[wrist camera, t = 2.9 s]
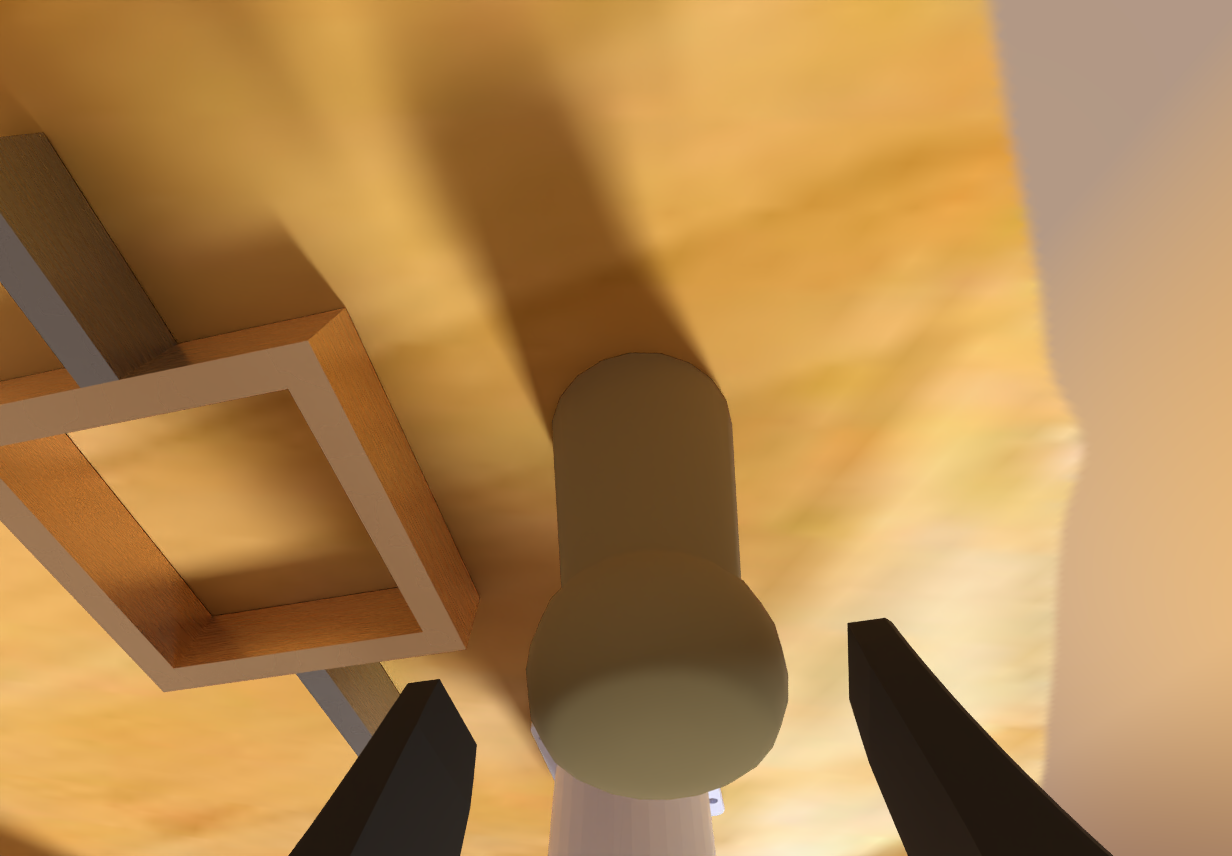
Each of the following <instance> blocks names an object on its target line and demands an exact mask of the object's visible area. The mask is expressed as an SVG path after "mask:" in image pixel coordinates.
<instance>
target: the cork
mask: <svg viewBox="0 0 1232 856" xmlns="http://www.w3.org/2000/svg"><path fill="white" fill-rule="evenodd" d="M552 429H553V452H554V469H555V486H556V504H557V521H558V538H559V555H560V573H561V589H560V590H559V591H558V592H557V593H556V594H555V595H554V596H553V597H552V598H551V600H550V602H549V604H548V606H547V608H546V610H545V612H544V614H543V616H542V618H541V620H540V623H539V625H538V628H537V630H536V633H535V635H534V637H533V640H532V642H531V645H530V650H529V656H528V662H527V667H526V675H527V687H528V698H529V706H530V715H531V721H532V723H533V725H534V727H535V729H536V731H537V733H538V735H539V737H540V739H541V741H542V743H543V744H544V746H545V747H546V749H547V751H548V752H549V754H550V756H551V757H552V759H553V760H554V762H555V763H556V764H557V765H559V766H560V767H561V768H562V769H564V770H565V771H566V772H568V773H569V774H570V775H572V776H573V777H574V778H575V779H577V780H579V781H582V782H584V783H586V784H588V785H591V786H593V787H596V788H598V789H600V790H603V791H605V792H608V793H610V794H614V795H619V796H624V797H629V798H634V799H639V800H672V799H679V798H686V797H692V796H698V795H701V794H704V793H707V792H710V791H712V790H715V789H718V788H721V787H724V786H726V785H728V784H729V783H731V782H733V781H735V780H736V779H738V778H739V777H741V776H743V775H744V774H746V773H747V772H749V771H750V770H752V769H754V768H755V767H757V765H758V764H759V763H760V762H761V761H762V760H763V758H764V757H765V756H766V755H767V754H768V752H769V751H770V750H771V749H772V748H773V745H774V743H775V740H776V738H777V735H778V733H779V730H780V727H781V725H782V721H783V717H784V714H785V710H786V706H787V703H788V672H787V668H786V664H785V659H784V655H783V651H782V647H781V644H780V640H779V637H778V634H777V630H776V627H775V624H774V622H773V621H772V619H771V617H770V616H769V614H768V613H767V611H766V610H765V608H764V606H763V605H762V603H761V602H760V601H759V600H758V598H757V597H756V596H755V595H754V593H753V592H752V591H751V590H750V588H749V587H748V586H747V585H746V583H745V582H744V581H743V580H741V571H740V553H739V536H738V519H737V502H736V484H735V467H734V450H733V433H732V423H731V418H730V414H729V410H728V405H727V401H726V400H725V398H724V397H723V395H722V394H721V392H720V391H719V389H718V388H717V386H716V385H715V383H714V382H713V380H712V379H711V378H709V377H708V376H706V375H705V374H704V373H702V372H701V371H700V370H698V369H697V368H696V367H694V366H693V365H691V364H690V363H688V362H685V361H682V360H679V359H676V358H673V357H670V356H667V355H664V354H657V353H628V354H625V355H621V356H617V357H614V358H610V359H606V360H603V361H600V362H599V363H597V364H596V365H594V366H593V367H591V368H590V369H588V370H586V371H585V372H583V373H582V374H580V375H579V376H577V377H576V378H575V380H574V381H573V382H572V383H571V385H570V386H569V387H568V388H567V390H566V391H565V392H564V393H563V395H562V396H561V397H560V400H559V403H558V405H557V408H556V411H555V414H554V417H553V420H552Z"/></svg>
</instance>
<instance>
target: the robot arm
mask: <svg viewBox="0 0 1232 856" xmlns="http://www.w3.org/2000/svg"><path fill="white" fill-rule="evenodd" d="M848 665H849V700H850V703H851V706H852V709H853V713H854V716H855V719H856V722H857V726H858V729H859V732H860V735H861V739H862V742H863V745H864V748H865V751H866V754H867V757H868V761H869V764H870V766H871V768H872V771H873V773H874V776H875V778H876V781H877V783H878V785H879V788H880V790H881V793H882V795H883V797H884V800H885V802H886V805H887V807H888V809H889V812H890V814H891V817H892V819H893V821H894V824H895V826H896V828H897V831H898V833H899V835H900V838H901V840H902V843H903V845H904V847H905V850H906V852H907V854H908V856H1113V855H1112V854H1111V853H1110V852H1109V851H1107V850H1106V849H1105V848H1104V847H1103V846H1102V845H1101V844H1100V843H1098V841H1096V840H1095V839H1094V838H1093V837H1092V836H1091V835H1090V834H1089V833H1088V832H1086V830H1084V829H1083V828H1082V827H1081V826H1080V825H1079V824H1078V823H1077V822H1076V821H1075V820H1074V819H1073V818H1072V817H1071V816H1070V815H1069V814H1068V813H1066V812H1065V811H1064V810H1063V809H1062V808H1061V807H1060V806H1059V805H1058V804H1057V803H1056V802H1055V801H1054V800H1053V799H1052V798H1051V797H1050V796H1049V795H1048V794H1047V793H1046V792H1045V791H1044V790H1043V789H1042V788H1041V787H1040V786H1039V785H1038V784H1037V783H1036V782H1035V781H1034V780H1033V779H1032V778H1030V777H1029V776H1028V775H1027V774H1026V773H1025V772H1024V771H1023V770H1022V768H1021V767H1020V766H1019V765H1018V764H1017V763H1016V762H1015V761H1014V760H1013V759H1012V758H1011V757H1010V756H1009V755H1008V754H1007V753H1006V752H1005V751H1004V750H1003V749H1002V748H1001V747H1000V746H999V745H998V744H997V743H996V742H995V741H994V740H993V738H992V737H991V736H990V735H989V734H988V733H987V732H986V731H985V730H984V729H983V728H982V727H981V726H980V725H979V724H978V723H977V722H976V720H975V719H974V718H973V717H972V716H971V715H970V714H969V713H968V712H967V711H966V710H965V709H964V708H963V706H962V705H961V704H960V703H959V702H958V701H957V700H956V699H955V698H954V696H953V695H952V694H951V693H950V692H949V691H948V690H947V688H946V687H945V686H944V685H943V684H942V683H941V682H940V680H939V679H938V678H937V677H936V676H935V675H934V674H933V672H932V671H931V670H930V669H929V668H928V667H927V665H926V664H925V663H924V662H923V661H922V659H921V658H920V657H919V656H918V655H917V653H916V652H915V651H914V650H913V648H912V647H911V646H910V645H909V643H908V642H907V641H906V640H905V638H904V637H903V636H902V635H901V633H900V632H899V631H898V629H897V628H896V627H895V626H894V624H893V623H892V622H891V621H889V620H888V619H886V618H881V619H874V620H866V621H859V622H852V623H848ZM531 733H532V735H533V737H534V739H535V741H536V743H537V745H538V747H539V750H540V752H541V754H542V756H543V758H544V760H545V762H546V764H547V766H548V768H549V770H550V773H551V775H552V777H553V779H554V781H555V783H554V794H553V805H552V816H551V827H550V838H549V848H548V856H716V851H715V843H714V835H713V827H712V819H711V816H716V815H720V814H722V813H723V812H724V810H725V808H724V802H723V798H722V793H721V789H720V788H718V789H715V790H712V791H710V792H707V793H704V794H701V795H698V796H692V797H686V798H679V799H672V800H639V799H634V798H629V797H624V796H619V795H614V794H610V793H608V792H605V791H603V790H600V789H598V788H596V787H593V786H591V785H588V784H586V783H584V782H582V781H579V780H577V779H575V778H574V777H573V776H572V775H570V774H569V773H568V772H566V771H565V770H564V769H562V768H561V767H560V766H559V765H557V764H556V763H555V762H554V760H553V759H552V757H551V756H550V754H549V752H548V751H547V749H546V747H545V746H544V744H543V743H542V741H541V739H540V737H539V735H538V733H537V731H536V729H535V727H534V725H533V723H531ZM476 747H477V744H476V743H475V741H474V739H473V737H472V735H471V734H470V732H469V730H468V728H467V727H466V725H465V723H464V721H463V720H462V718H461V716H460V714H459V713H458V711H457V709H456V707H455V705H454V704H453V702H452V700H451V698H450V697H449V695H448V693H447V691H446V690H445V688H444V686H443V684H442V682H441V681H440V679H436V680H429V681H421V682H414V683H408V684H407V685H406V687H405V688H404V690H403V691H402V693H401V694H400V696H399V697H398V698H397V700H396V701H395V703H394V704H393V706H392V707H391V709H390V710H389V712H388V713H387V715H386V716H385V718H384V719H383V721H382V722H381V724H380V725H379V727H378V728H377V730H376V731H375V733H374V734H373V736H372V737H371V739H370V740H369V742H368V743H367V745H366V746H365V748H364V749H363V751H362V752H361V754H360V755H359V757H358V758H357V760H356V761H355V763H354V764H353V766H352V767H351V769H350V770H349V771H348V773H347V774H346V776H345V777H344V779H343V780H342V782H341V783H340V784H339V786H338V787H337V789H336V790H335V792H334V793H333V795H332V796H331V797H330V799H329V800H328V802H327V803H326V805H325V806H324V807H323V809H322V810H321V812H320V813H319V815H318V816H317V817H316V819H315V820H314V822H313V823H312V824H311V826H310V827H309V829H308V830H307V831H306V833H305V834H304V835H303V837H302V838H301V839H300V841H299V842H298V843H297V845H296V846H295V848H294V849H293V850H292V852H291V853H290V854H289V856H460V853H461V849H462V844H463V839H464V835H465V830H466V825H467V820H468V815H469V811H470V804H471V796H472V788H473V779H474V769H475V758H476Z"/></svg>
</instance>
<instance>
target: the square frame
mask: <svg viewBox="0 0 1232 856" xmlns="http://www.w3.org/2000/svg"><path fill="white" fill-rule="evenodd" d="M0 282H1V283H2V285H3V286H4V287H5V289H6V290H7V291H8V293H9V294H10V295H11V297H12V298H13V299H14V301H15V302H16V303H17V305H18V306H19V307H20V308H21V310H22V311H23V312H24V314H25V315H26V316H27V318H28V319H29V320H30V322H31V323H32V324H33V326H34V327H35V328H36V330H37V331H38V332H39V334H40V335H41V336H42V338H43V339H44V340H45V342H46V343H47V344H48V346H49V347H50V348H51V350H52V351H53V352H54V354H55V355H56V356H57V358H58V359H59V360H60V362H61V363H62V364H63V366H64V367H65V368H62V369H58V370H53V371H48V372H44V373H39V374H34V375H30V376H25V377H20V378H16V379H11V380H6V381H1V382H0V521H1V522H2V523H3V524H4V525H5V526H6V527H7V528H8V529H9V530H10V531H11V532H12V533H13V534H14V535H15V536H16V537H17V539H18V540H19V541H20V542H21V543H22V544H23V545H24V546H25V547H26V548H27V549H28V550H29V551H30V552H31V553H32V554H33V555H34V556H35V557H36V558H37V560H38V561H39V562H40V563H41V564H42V565H43V566H44V567H45V568H46V569H47V570H48V571H49V572H50V573H51V574H52V575H53V576H54V577H55V578H56V579H57V581H58V582H59V583H60V584H61V585H62V586H63V587H64V588H65V589H66V590H67V591H68V592H69V593H70V594H71V595H72V596H73V597H74V598H75V599H76V600H77V602H78V603H79V604H80V605H81V606H82V607H83V608H84V609H85V610H86V611H87V612H88V613H89V614H90V615H91V616H92V617H93V618H94V619H95V620H96V621H97V623H98V624H99V625H100V626H101V627H102V628H103V629H104V630H105V631H106V632H107V633H108V634H109V635H110V636H111V637H112V638H113V639H114V640H115V641H116V642H117V644H118V645H119V646H120V647H121V648H122V649H123V650H124V651H125V652H126V653H127V654H128V655H129V656H130V657H131V658H132V659H133V660H134V661H135V662H136V664H137V665H138V666H139V667H140V668H141V669H142V670H143V671H144V672H145V673H146V674H147V675H148V676H149V677H150V678H151V679H152V680H153V681H154V682H155V683H156V685H157V686H158V687H159V688H160V689H161V690H162V691H163V692H169V691H176V690H183V689H190V688H197V687H204V686H211V685H218V684H225V683H232V682H239V681H247V680H254V679H261V678H268V677H275V676H282V675H289V674H296V675H297V676H298V677H299V679H300V680H301V681H302V683H303V684H304V685H305V687H306V688H307V689H308V691H309V692H310V693H311V694H312V696H313V697H314V698H315V700H316V701H317V702H318V704H319V705H320V706H321V708H322V709H323V710H324V712H325V713H326V714H327V716H328V717H329V718H330V720H331V721H332V722H333V724H334V725H335V726H336V728H337V729H338V730H339V732H340V733H341V734H342V736H343V737H344V738H345V740H346V741H347V742H348V744H349V745H350V746H351V748H352V749H353V750H354V752H355V753H356V754H357V755H358V757H359V755H360V754H361V752H362V751H363V749H364V748H365V746H366V745H367V743H368V742H369V740H370V739H371V737H372V736H373V734H374V733H375V731H376V730H377V728H378V727H379V725H380V724H381V722H382V721H383V719H384V718H385V716H386V715H387V713H388V712H389V710H390V709H391V707H392V706H393V704H394V703H395V701H396V700H397V698H398V697H399V696H400V694H399V693H398V691H397V690H396V688H395V687H394V685H393V683H392V682H391V680H390V679H389V677H388V676H387V674H386V672H385V671H384V669H383V668H382V666H381V664H380V663H379V662H381V661H388V660H395V659H402V658H409V657H416V656H424V655H431V654H438V653H445V652H452V651H459V650H466V648H467V644H468V640H469V637H470V633H471V629H472V625H473V622H474V618H475V614H476V610H477V607H478V603H479V599H480V597H479V595H478V593H477V591H476V588H475V586H474V584H473V582H472V580H471V578H470V575H469V573H468V571H467V569H466V567H465V565H464V563H463V560H462V558H461V556H460V554H459V552H458V550H457V547H456V545H455V543H454V541H453V539H452V537H451V534H450V532H449V530H448V528H447V526H446V524H445V522H444V519H443V517H442V515H441V513H440V511H439V509H438V506H437V504H436V502H435V500H434V498H433V496H432V493H431V491H430V489H429V487H428V485H427V483H426V481H425V478H424V476H423V474H422V472H421V470H420V468H419V465H418V463H417V461H416V459H415V457H414V455H413V452H412V450H411V448H410V446H409V444H408V442H407V440H406V437H405V435H404V433H403V431H402V429H401V427H400V424H399V422H398V420H397V418H396V416H395V414H394V411H393V409H392V407H391V405H390V403H389V401H388V399H387V396H386V394H385V392H384V390H383V388H382V386H381V383H380V381H379V379H378V377H377V375H376V373H375V370H374V368H373V366H372V364H371V362H370V360H369V357H368V355H367V353H366V351H365V349H364V347H363V345H362V342H361V340H360V338H359V336H358V334H357V332H356V329H355V327H354V325H353V323H352V321H351V319H350V316H349V314H348V312H347V310H346V308H343V309H338V310H333V311H329V312H324V313H319V314H315V315H310V316H305V317H301V318H296V319H291V320H287V321H282V322H277V323H273V324H268V325H263V326H259V327H254V328H249V329H245V330H240V331H235V332H231V333H226V334H221V335H217V336H212V337H207V338H202V339H198V340H193V341H188V342H184V343H179V344H177V343H176V341H175V340H174V338H173V336H172V335H171V333H170V332H169V330H168V328H167V327H166V325H165V324H164V322H163V321H162V319H161V317H160V316H159V314H158V313H157V311H156V310H155V308H154V306H153V305H152V303H151V302H150V300H149V298H148V297H147V295H146V294H145V292H144V291H143V289H142V287H141V286H140V284H139V283H138V281H137V280H136V278H135V276H134V275H133V273H132V272H131V270H130V269H129V267H128V265H127V264H126V262H125V261H124V259H123V257H122V256H121V254H120V253H119V251H118V250H117V248H116V246H115V245H114V243H113V242H112V240H111V239H110V237H109V235H108V234H107V232H106V231H105V229H104V228H103V226H102V224H101V223H100V221H99V220H98V218H97V216H96V215H95V213H94V212H93V210H92V209H91V207H90V205H89V204H88V202H87V201H86V199H85V198H84V196H83V194H82V193H81V191H80V190H79V188H78V186H77V185H76V183H75V182H74V180H73V179H72V177H71V175H70V174H69V172H68V171H67V169H66V168H65V166H64V164H63V163H62V161H61V160H60V158H59V157H58V155H57V153H56V152H55V150H54V149H53V147H52V145H51V144H50V142H49V141H48V139H47V138H46V136H45V134H44V133H34V134H25V135H16V136H7V137H0ZM285 389H289V391H290V393H291V395H292V397H293V398H294V400H295V402H296V404H297V406H298V407H299V409H300V411H301V413H302V415H303V416H304V418H305V420H306V422H307V424H308V425H309V427H310V429H311V431H312V433H313V434H314V436H315V438H316V440H317V442H318V443H319V445H320V447H321V449H322V451H323V453H324V454H325V456H326V458H327V460H328V462H329V463H330V465H331V467H332V469H333V471H334V472H335V474H336V476H337V478H338V480H339V481H340V483H341V485H342V487H343V489H344V490H345V492H346V494H347V496H348V498H349V499H350V501H351V503H352V505H353V507H354V508H355V510H356V512H357V514H358V516H359V517H360V519H361V521H362V523H363V525H364V526H365V528H366V530H367V532H368V534H369V535H370V537H371V539H372V541H373V543H374V544H375V546H376V548H377V550H378V552H379V553H380V555H381V557H382V559H383V561H384V563H385V564H386V566H387V568H388V570H389V572H390V573H391V575H392V577H393V579H394V581H395V582H396V584H397V586H398V588H392V589H386V590H380V591H373V592H367V593H360V594H354V595H347V596H341V597H335V598H328V599H322V600H315V601H309V602H302V603H296V604H290V605H283V606H277V607H270V608H264V609H257V610H251V611H245V612H238V613H232V614H225V615H219V616H211V614H210V613H209V612H208V611H207V609H206V608H205V607H204V606H203V604H202V603H201V602H200V601H199V599H198V598H197V597H196V596H195V594H194V593H193V592H192V591H191V589H190V588H189V587H188V586H187V584H186V583H185V582H184V581H183V580H182V578H181V577H180V576H179V575H178V573H177V572H176V571H175V570H174V568H173V567H172V566H171V565H170V563H169V562H168V561H167V560H166V558H165V557H164V556H163V555H162V553H161V552H160V551H159V550H158V548H157V547H156V546H155V545H154V543H153V542H152V541H151V540H150V538H149V537H148V536H147V535H146V533H145V532H144V531H143V530H142V528H141V527H140V526H139V525H138V524H137V522H136V521H135V520H134V519H133V517H132V516H131V515H130V514H129V512H128V511H127V510H126V509H125V507H124V506H123V505H122V504H121V502H120V501H119V500H118V499H117V497H116V496H115V495H114V494H113V492H112V491H111V490H110V489H109V487H108V486H107V485H106V484H105V482H104V481H103V480H102V479H101V477H100V476H99V475H98V474H97V473H96V471H95V470H94V469H93V468H92V466H91V465H90V464H89V463H88V461H87V460H86V459H85V458H84V456H83V455H82V454H81V453H80V451H79V450H78V449H77V448H76V446H75V445H74V444H73V443H72V441H71V440H70V439H69V438H68V436H67V435H66V434H65V433H70V432H75V431H80V430H85V429H90V428H95V427H100V426H105V425H110V424H115V423H120V422H125V421H130V420H135V419H140V418H145V417H150V416H155V415H160V414H165V413H170V412H175V411H180V410H185V409H190V408H195V407H200V406H205V405H210V404H215V403H220V402H225V401H230V400H235V399H240V398H245V397H250V396H255V395H260V394H265V393H270V392H275V391H280V390H285Z"/></svg>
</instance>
